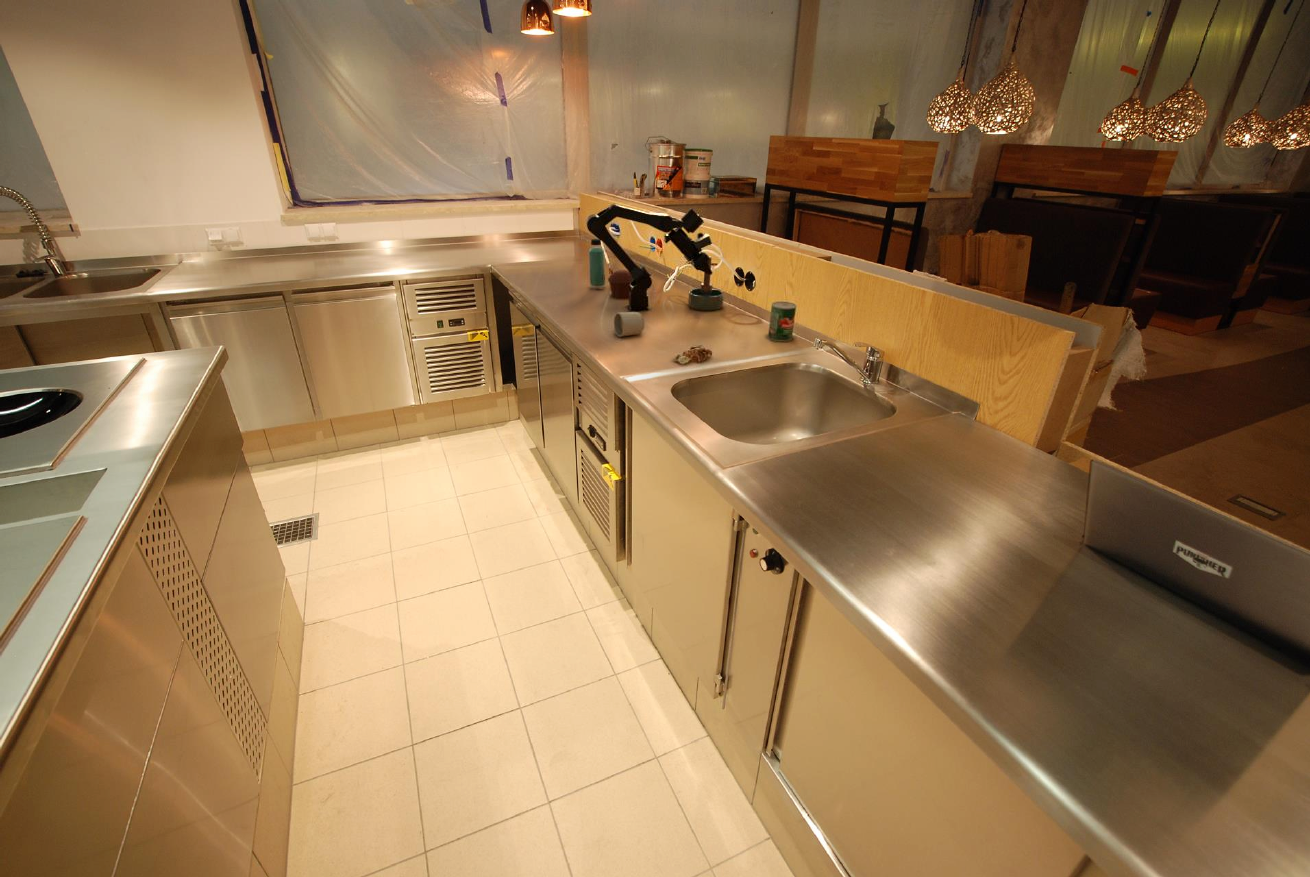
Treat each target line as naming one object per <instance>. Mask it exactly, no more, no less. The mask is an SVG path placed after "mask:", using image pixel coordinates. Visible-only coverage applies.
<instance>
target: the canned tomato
mask: <svg viewBox="0 0 1310 877" xmlns="http://www.w3.org/2000/svg"><path fill="white" fill-rule="evenodd" d="M796 311H797V304H795V303H793V302H789V301H774V302H772V303H771V308H770V316H769V325H768V334H767V338H768V339H769V340H772V341H775V342H790V341H791V340H793V333H794V326H795V320H796V319H795V318H796Z"/></svg>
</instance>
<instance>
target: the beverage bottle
mask: <svg viewBox="0 0 1310 877" xmlns="http://www.w3.org/2000/svg"><path fill="white" fill-rule="evenodd" d="M590 245H591V246H592V247H590V249H589V250H588V259H589V284H590V286H592V287H603V286H605V285H606V272H605V269H606V268H605V250H604V248H602V247H601V245H602V241H601V240H600V239H598V238H591V239H590Z"/></svg>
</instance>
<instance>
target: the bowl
mask: <svg viewBox="0 0 1310 877" xmlns="http://www.w3.org/2000/svg"><path fill="white" fill-rule="evenodd" d="M700 290H701V287H697V288H693V289H690V290H689V291H688V300H687V301H688V302H687V303H688V304H687V305H688V307H690V308H692V310H693V309H694V310H697V311H703V312H705V311H706V312H708V311H709V312H710V311H711V312H712V311H717V310H719V309H721V308H723V306H724V297H725V295H724V291H722V290H720V289H716V288H712V293H701V292H700Z"/></svg>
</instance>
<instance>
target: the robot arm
mask: <svg viewBox="0 0 1310 877" xmlns="http://www.w3.org/2000/svg"><path fill="white" fill-rule="evenodd" d="M616 218H620V219H624V220H627V221H632V222H636V223H641V224H644V225H648V226H650V227H652V228H654V229H656V230H658V231H660V232H663V233H665V234H663V238H664V239H663V242H664V243H665V244H668V243H669V242H671V243H672V245H674V246H675V248H676V249H677V250H678V251H679V252H680V253H681V254H682V255H683V256H684V259H685V260H686V261H687V262H688V263H690V265H692V267H693V268H695V270H696V271H701V272H702V273H704V272H705V273H707V274H709V275H710V276H712V275H713V271H712V268H711V269H710V267H709V265H708V263H707V261H708V260H709V259H710V257H711V256H710V255H708V254H707V253H706V252H705V251H703V249H704V248H706V247H708V246H712V244H713V241H712V239H711V235H710V234H709V233H702V231H700V232H698V233H696V231H697V230H698V229H699V228H700V227H701V226H702V225H703V223H705V221H704V219H703V218H702V217H701V216H700V214H698V213H696V211H695V210H694V209H693V208H689V209H688V210H687V212H686V213H685V214H684V215H683V216H682V217H681V218H678V217H673V216H671V215H670V214H668V213H666V212H665V213H664V212H647V211H644V210H643V211H642V210H640V209H639V210H638V209H636V208H631V207H627V206H623V205H619V204H618V203H612V204H610V205H609V206H608V207H606V208H605V209H602V210H600V211H599V212H598V213H596V214H594V213H593V214H589V216H587V218H586V220H585V225H586V229H587V230H588V231H589V233H591V235H593V236H594V237H596V239H600V240H601V243H603V244H604V245H605V246H606V247H607V248H608V249H609V251H610V252H611V253H612V254H613V255H614V257H616V259H618V261H619V262H620V263H621V264H622V265H623V267H624V268H625V270H627V271H629V272H630V274H631V276H632V278H633V279H634V280H633V281H632V282H631V283H630V284H629V286H630V289H631V291H629V298H628V305H627V308H629V310H630V311H631V312H636V311H637V312H638V311H648V310H649V296H648V290H649V289H650V288H651V287H652V285H653V280H652V278H651V276H652V274H651V273H650V271H649V270H648V269H646V268H645V266H644V265H643V263H640V265H638V263H636V262H635V261H634V259H632V258H631V256H630V255H629V254H628V253H627V252H626V251H625V249H624V248H623V247H622V246H621V244H619V243H618V241H617V240H616V239H615V237H613V235H612V234H611V232H610V231H609V229H608V228H607V225H608V224H610V223H611V222H612V221H614V220H615V219H616ZM682 228H683V229H682ZM694 233H696V234H697V235H696V238H695V239H693V238H691V237H690V236H689V235H688V234H694Z"/></svg>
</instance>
